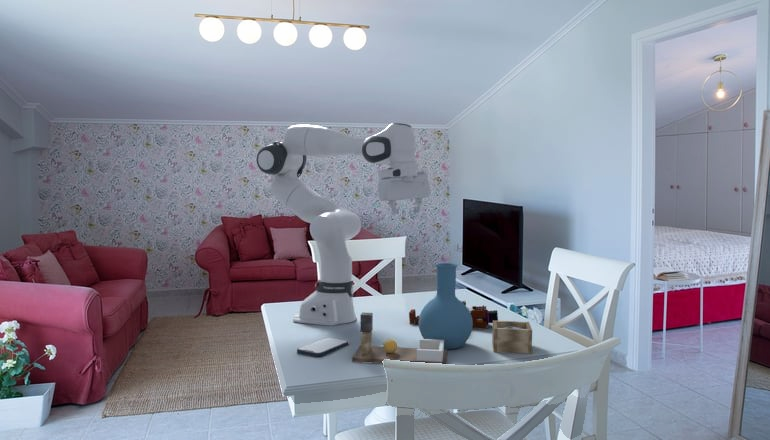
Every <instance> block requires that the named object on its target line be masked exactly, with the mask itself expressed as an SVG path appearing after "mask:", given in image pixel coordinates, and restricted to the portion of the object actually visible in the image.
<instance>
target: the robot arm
mask: <svg viewBox="0 0 770 440" xmlns="http://www.w3.org/2000/svg"><path fill="white" fill-rule="evenodd" d="M415 139H416V138H415V131H414V129H413V126H412V125H410V124H407V123H400V122H391V123H390V124H389V125H388V126H387V127H386V128H384V129H383V130H382V131H380V132H378V133H376V134H374V135H370V136H368V137H367V138H363V137H357V136H353V135H349V134H347V133H342V132H340V131H337V130H335V129H331V128H329V127H325V126H321V125H315V124H296V125H291V126H290V127H288V128H287V129H286V131H285V132H284V137H283V140H282V141H278V140H275V141H273V142H272V143H270V144H268V145H266V146H264V147H262V148H261V149H259V151H258V152H257V154H256V164H257V167H258V169H259V170H260V171H261V172H263V173H264V174H267V175H270V176H271V175H273V179H272V181H271V183H270V192H271V193H272V195H273V196H274V197H275V199H277V200H278V201H279V202H280V204H282V205H283V206H284V207H285V208H287V209H288V210H289V211H290V212H292V213H293V214H294V215H295V216H297V217H298V218H299V219H300V220H302V221H304V222H306V223H309V224H310V225H309V232H310V236H311V238H312V239H313V241H315V243H316V246H317V249H318V252H319V257H320V278H319V279H317V281H316V282H315V284H314V288H315V291H313V292H312V293H310V294H309V296H307V297H305V299H304V300H302V302H301V304H300V307H299V312H298V313H296V314H294V315H293V318H292V321H293V323H300V324H310V325H319V326H331V327H332V326H336V325H341V324H348V323H352V322H355V321H356V320H357V316H356V313H355V307H354V300H353V296H354V280H353V259H352V256H350V255H349V251H348V248H347V243H346V241H349V240H351V239H353V238H355V237H356V236H357V235H359V233H360V232H361V229H362V221H361V218H360V217H359V215H358V214H357V213H355V212H352V211H350V210H348V209H347V208H344V207H342V206H340V205H339V204H337V203H336V202H334V201H331V200H329V199H328V198H325V197H323V196H322V195H320V194H319V193H318V192H317V191H315V190H314V189H313V188H311V187H310V186H309V185H307V184H306V183H305V182H303V181H302V180H300V178H299V177H301V176H302V175H303V170H304V169H305V166H306V164H307V157H314V158H327V157H328V158H329V157H336V156H337V157H338V156H352V155H353V156H362V157H363V158H364V159H365V160H366V161H367V162H368V163H371V164H375V165H389V166H390V167H388V168H385V169H383V170H381V171H379V172H378V178H379V180H378V183H377V184H378V186H377V189H378V191H377V192H378V199H379V200H380V201H381V202H388V205H389V207H390V208H391V214H392V215H399V214H400V208H397V206H396V204H397V201H400V200H401V201H402V200H415V206H413V212H414V213H420V212H421V206H422V204H423V199H424V198H425V199H427V198H430V197H431V193H432V192H431V186H430V182H429V178H428V177H429V175H428V174H427V173H426V172H425V171H424V170H420V171H419V170H418V164H417V158H416V149H417V147H416V140H415Z"/></svg>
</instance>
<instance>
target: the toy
mask: <svg viewBox="0 0 770 440" xmlns="http://www.w3.org/2000/svg"><path fill="white" fill-rule="evenodd" d="M460 301H461V302H462V303H463V304H464V305H465V306H466V307H467V303H466V300H460ZM467 308H468V310H469V312H470V314H471V317H472V322H473V326H472V329H479V328H481V329H482V330H484V329H488V325H489V324H493V320H494V321H499V316H498V314H499V313H498V310H489V309H487V305H482V306H477V305H473V306H471V307H470V308H469V307H467ZM419 316H420V315H416V309H415V308H413V309H410V311H409V312H408V317H409V324H410V325H419Z"/></svg>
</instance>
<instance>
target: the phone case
mask: <svg viewBox="0 0 770 440" xmlns="http://www.w3.org/2000/svg"><path fill="white" fill-rule="evenodd" d="M347 346H349V341H348V340H343V339H339V338H332V337H324V338H321V339H319V340H317V341H314V342H311V343H308V344H306V345H304V346H301V347H298V348H297V349H296V354H298V355H303V356H307V357H312V358H322V357H325V356H327V355H329V354H332V353H334V352H335V351H338V350H340V349H342V348H344V347H347Z"/></svg>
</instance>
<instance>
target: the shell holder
mask: <svg viewBox="0 0 770 440" xmlns="http://www.w3.org/2000/svg"><path fill="white" fill-rule="evenodd" d="M508 326H512V327H516V328H517V327H520V328H525V329H509V328H504V327H508ZM491 340H492V341H491V342H492V349H493V353H506V354H507V353H508V354H528V355H532V353H533V352H532V350H533V329H532V326H531V324H530V322H529V321H519V320H518V321H515V320H498V321H494V320H493V323H492V339H491Z"/></svg>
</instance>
